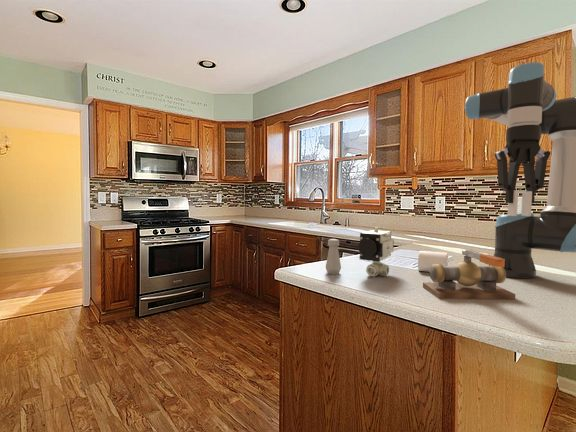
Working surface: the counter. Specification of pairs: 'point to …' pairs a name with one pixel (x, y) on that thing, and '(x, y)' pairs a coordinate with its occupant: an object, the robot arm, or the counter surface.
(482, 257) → the lever
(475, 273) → the valve mount
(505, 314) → the counter surface
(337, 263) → the salt shaker
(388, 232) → the ball valve
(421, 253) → the white rectangular block
